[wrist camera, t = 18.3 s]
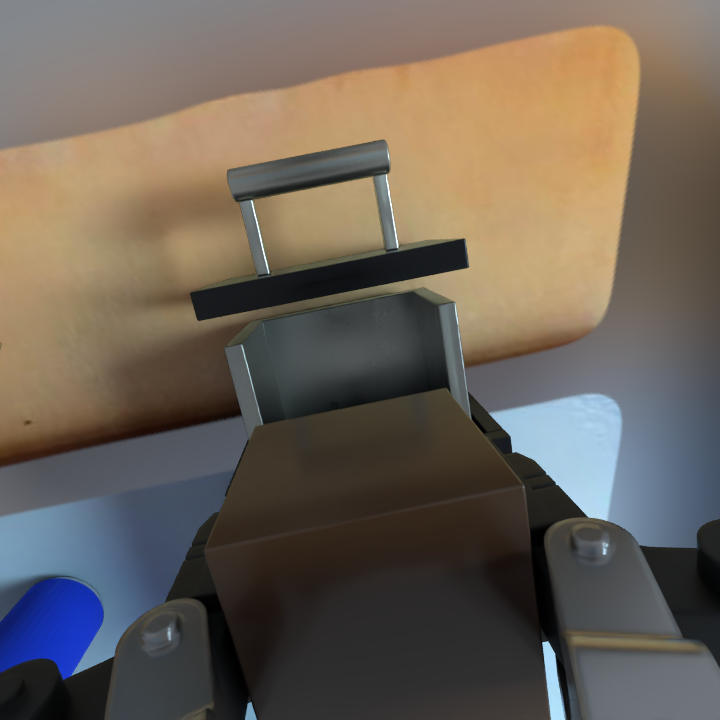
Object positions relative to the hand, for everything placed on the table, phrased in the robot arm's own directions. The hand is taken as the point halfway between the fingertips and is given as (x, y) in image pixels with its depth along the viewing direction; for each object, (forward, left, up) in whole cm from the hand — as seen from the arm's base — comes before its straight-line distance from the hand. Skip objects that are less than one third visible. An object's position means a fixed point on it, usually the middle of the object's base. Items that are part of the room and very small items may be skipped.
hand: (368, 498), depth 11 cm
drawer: (-1, -1, -17) cm, 17 cm away
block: (0, 0, 0) cm, 0 cm away
